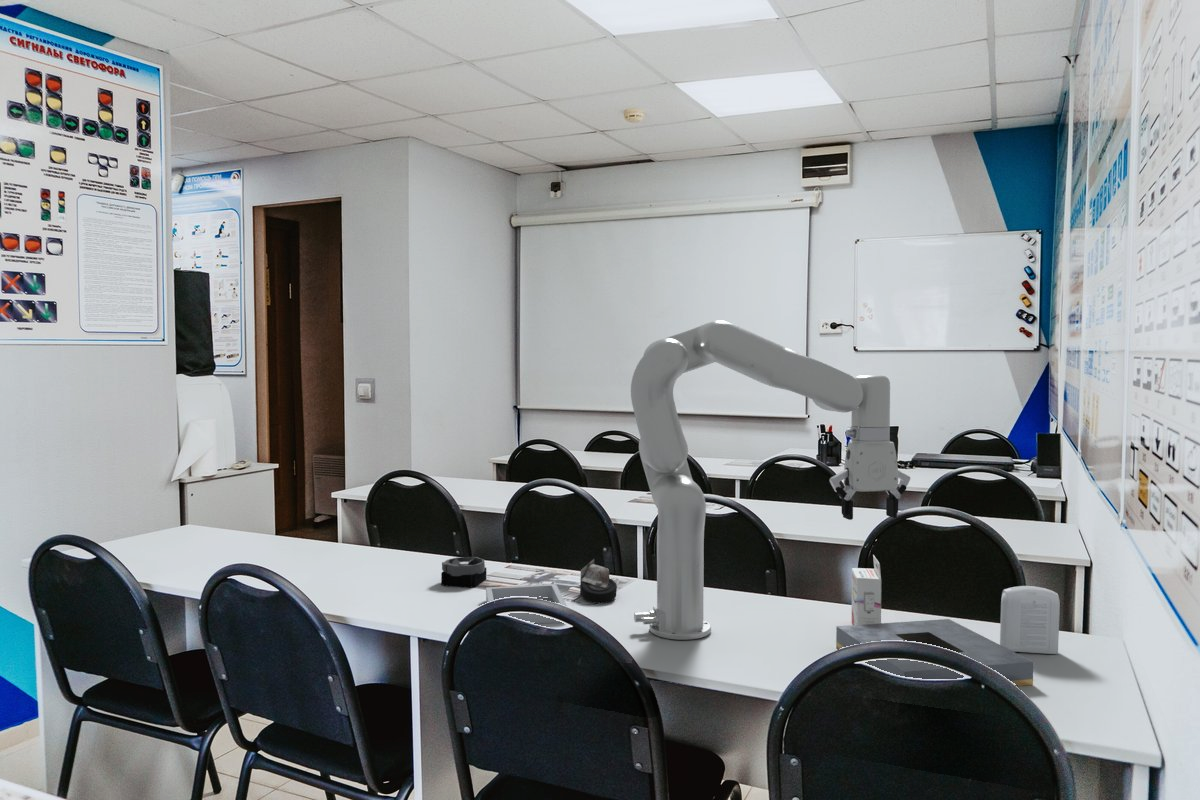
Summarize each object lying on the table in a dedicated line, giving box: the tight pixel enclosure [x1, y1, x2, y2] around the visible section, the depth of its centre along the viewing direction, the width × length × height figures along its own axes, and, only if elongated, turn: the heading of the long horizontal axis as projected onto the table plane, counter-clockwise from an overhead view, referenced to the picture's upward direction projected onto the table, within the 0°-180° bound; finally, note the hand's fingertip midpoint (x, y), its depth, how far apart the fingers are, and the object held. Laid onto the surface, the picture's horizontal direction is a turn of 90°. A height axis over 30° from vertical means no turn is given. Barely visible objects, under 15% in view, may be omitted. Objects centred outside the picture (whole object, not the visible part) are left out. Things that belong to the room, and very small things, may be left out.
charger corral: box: [485, 583, 568, 624], centre depth 183 cm, size 16×19×3 cm
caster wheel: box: [579, 558, 618, 604], centre depth 194 cm, size 7×11×10 cm
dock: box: [835, 618, 1034, 687], centre depth 149 cm, size 24×24×4 cm
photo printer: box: [999, 585, 1061, 655], centre depth 156 cm, size 10×4×12 cm, turn 81°
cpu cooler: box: [440, 556, 487, 588], centre depth 207 cm, size 10×6×10 cm
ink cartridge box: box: [851, 554, 882, 625], centre depth 170 cm, size 9×5×15 cm, turn 171°
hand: (869, 517), depth 170 cm, fingers open, 9 cm apart
